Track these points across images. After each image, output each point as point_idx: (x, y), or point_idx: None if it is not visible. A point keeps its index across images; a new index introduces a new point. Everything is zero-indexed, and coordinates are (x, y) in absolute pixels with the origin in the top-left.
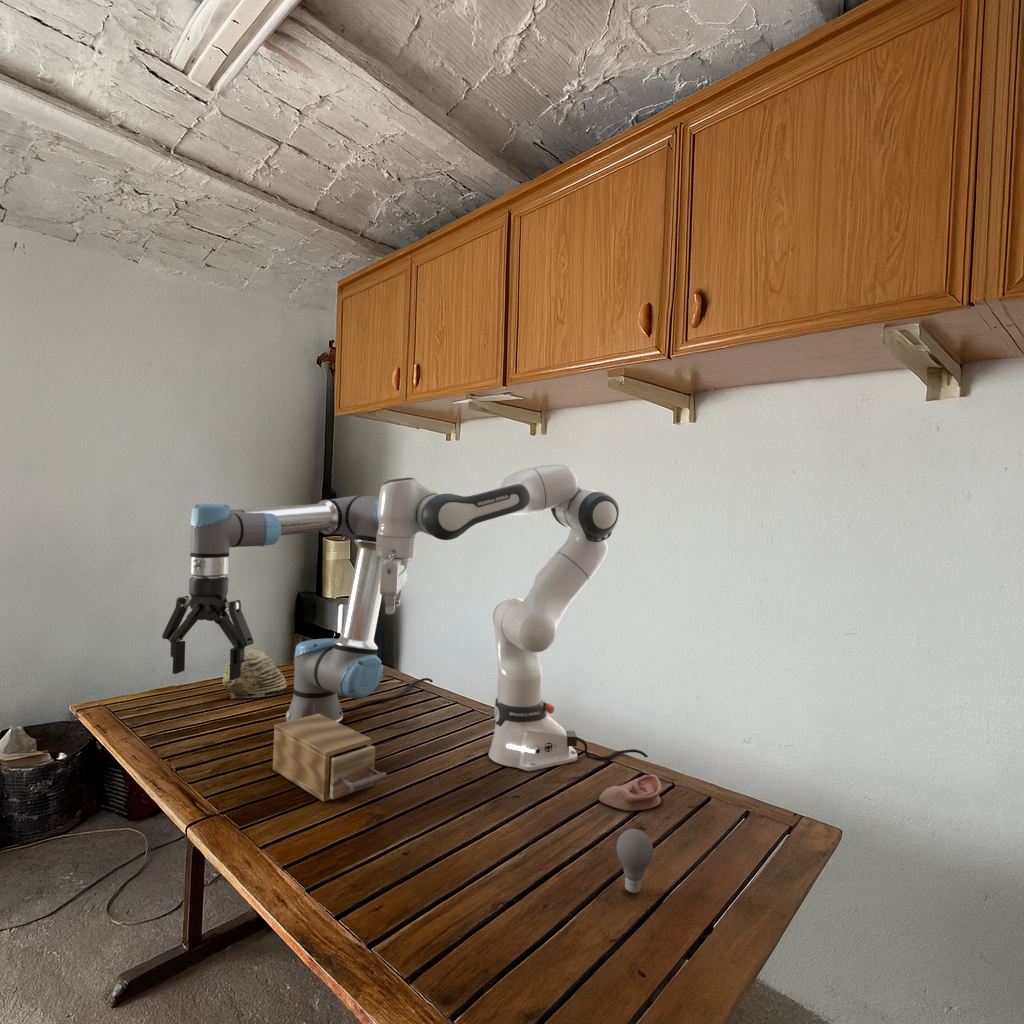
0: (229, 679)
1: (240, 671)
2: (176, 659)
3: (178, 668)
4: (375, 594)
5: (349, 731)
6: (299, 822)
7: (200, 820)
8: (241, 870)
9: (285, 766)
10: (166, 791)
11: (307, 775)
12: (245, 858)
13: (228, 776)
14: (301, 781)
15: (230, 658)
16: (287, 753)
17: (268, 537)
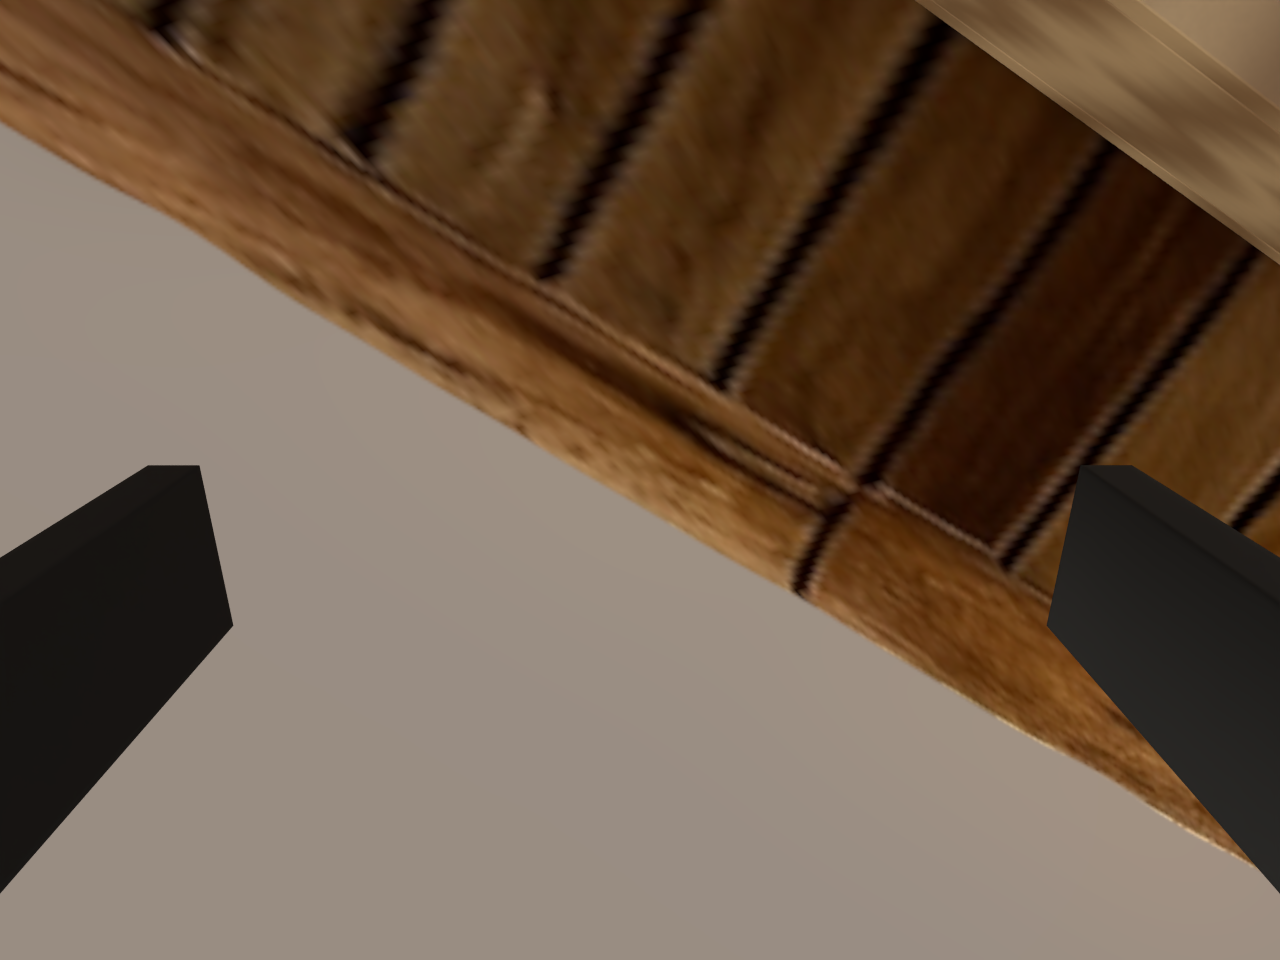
0: (1050, 629)
1: (1179, 502)
2: (111, 749)
3: (190, 612)
4: None
5: None
6: (1220, 463)
7: (817, 551)
8: (1120, 757)
9: (1023, 51)
10: (506, 383)
11: (1227, 188)
12: (1105, 706)
13: (682, 143)
14: (1147, 154)
15: (1252, 850)
16: (1081, 50)
17: None
